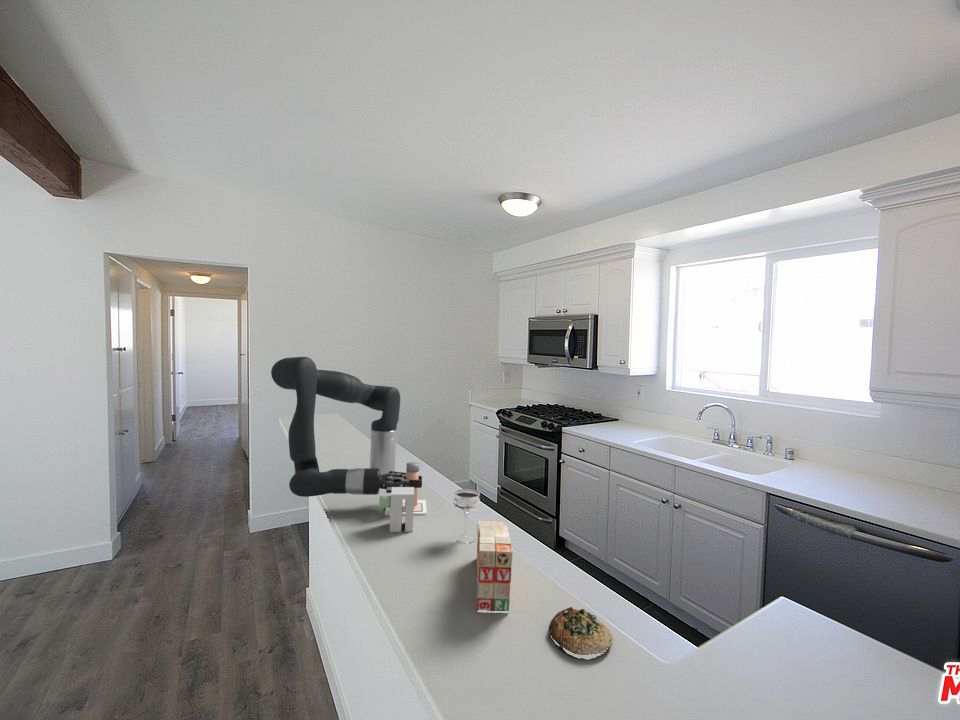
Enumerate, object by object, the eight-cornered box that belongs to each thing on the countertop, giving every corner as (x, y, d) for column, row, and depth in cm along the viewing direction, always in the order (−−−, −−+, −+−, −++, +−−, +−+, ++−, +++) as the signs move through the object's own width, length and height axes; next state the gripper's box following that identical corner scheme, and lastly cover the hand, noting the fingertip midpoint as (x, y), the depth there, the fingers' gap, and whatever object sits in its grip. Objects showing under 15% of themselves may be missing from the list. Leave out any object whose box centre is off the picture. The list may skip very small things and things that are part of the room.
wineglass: (475, 546, 111) (477, 499, 110) (448, 542, 112) (451, 496, 112) (480, 535, 117) (482, 490, 117) (455, 532, 119) (457, 487, 118)
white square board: (387, 501, 139) (387, 499, 139) (425, 501, 140) (425, 499, 140) (384, 515, 128) (384, 513, 128) (426, 514, 130) (426, 512, 130)
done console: (390, 522, 123) (392, 487, 122) (412, 522, 124) (414, 487, 123) (389, 532, 117) (391, 494, 116) (412, 531, 118) (414, 494, 117)
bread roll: (544, 616, 83) (549, 591, 83) (602, 628, 83) (608, 603, 82) (550, 660, 72) (556, 632, 72) (618, 675, 72) (624, 646, 71)
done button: (380, 505, 121) (380, 494, 120) (394, 505, 121) (395, 494, 121) (379, 509, 118) (379, 498, 117) (394, 509, 118) (394, 498, 118)
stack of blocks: (476, 558, 105) (478, 507, 104) (502, 559, 105) (505, 508, 104) (476, 614, 83) (479, 549, 83) (509, 615, 83) (512, 551, 83)
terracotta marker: (404, 502, 135) (406, 462, 134) (417, 502, 135) (419, 462, 135) (404, 506, 131) (406, 465, 131) (417, 506, 132) (419, 465, 131)
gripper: (360, 475, 124) (422, 476, 126) (366, 462, 138) (422, 462, 140) (359, 502, 124) (421, 502, 127) (365, 486, 138) (421, 486, 141)
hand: (421, 481), depth 133 cm, fingers closed on terracotta marker, 3 cm apart
